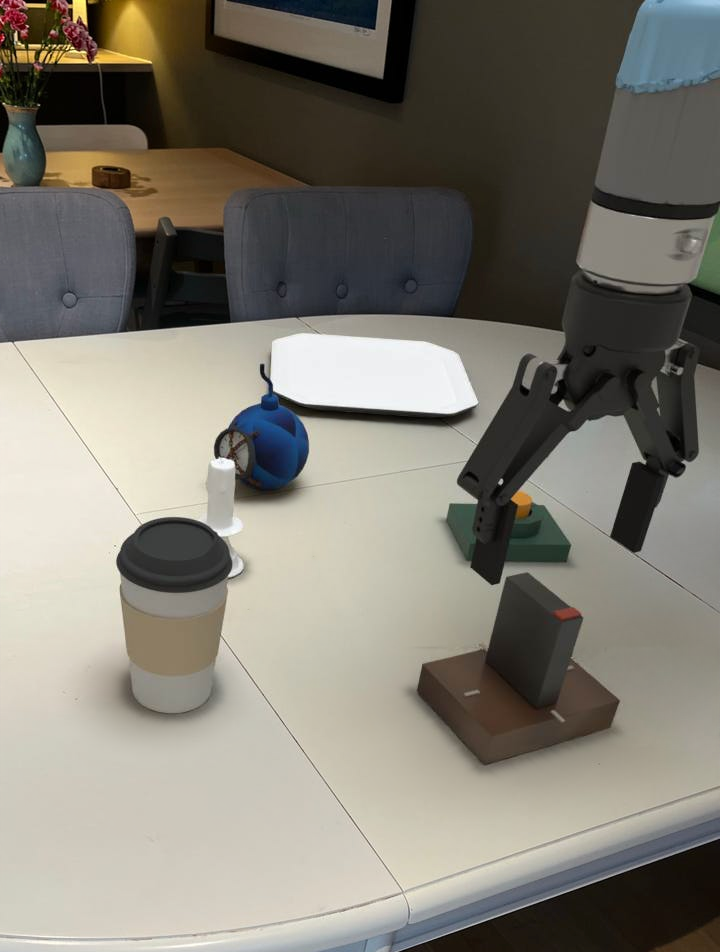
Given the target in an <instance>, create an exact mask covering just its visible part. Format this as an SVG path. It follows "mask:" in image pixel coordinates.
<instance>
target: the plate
mask: <svg viewBox="0 0 720 952" xmlns="http://www.w3.org/2000/svg"><path fill="white" fill-rule="evenodd" d="M270 349H271V350H270V351H271V352H270V372H269V373H270V374H269V375H270V376H269V379H270V380H271V381H272V384H273V395H276V396H277V397H280V398H283V399H285V400H287V401H289V402H292V403H294V404H296V405H298V406H301V407H305V408H309V409H311V410H312V409H313V410H316V411H317V410H318V411H325V412H328V411H329V412H342V413H353V414H355V413H356V414H371V415H383V416H397V417H411V418H412V417H413V418H426V419H427V418H440V417H443V418H444V417H453V416H456V415H459V414H462V413H464V412H467V411H470V410H472V409H475V408H477V406H478V405H479V401H478V398H477V396H476V393H475V391H474V389H473V386H472V383H471V380H470V379H469V376H468V374H467V372H466V369H465V367H464V363H463V362H462V360H461V357H460V355H459V353H457V352H455V351H454V350H451V349H448V348H445V347H443V346H440V345H437V344H435V343H431V342H429V341H424V340H423V341H421V340H409V339H408V340H407V339H396V338H395V339H394V338H381V337H379V338H378V337H365V336H353V335H352V336H351V335H337V334H322V333H307V332H300V333H295V334H290V335H287V336H282V337H280V338H276V339H274V340H273V341H271V348H270Z"/></svg>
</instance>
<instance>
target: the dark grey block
mask: <svg viewBox="0 0 720 952" xmlns="http://www.w3.org/2000/svg"><path fill="white" fill-rule="evenodd" d="M497 607H498V608H497V611H496V615H495V620H494V622H493V628H492V630H491V636H490V639H489V642H488V647H487V648H488V651H487V655H486V658H485V661H486V662H487V663H489V664H490V665H491V666H492V667H493V668H494V669H495V670H496V671H497V672H498V673H499V674H500V675H501V676H502V677H503V678H504V679H505V680H506V681H507V682H508V683H509V684H510V685H511V686H513V687H514V688H515V689H516V690H517V691H518V692H519V693H520V694H521V695H522V696H523V697H524V698H525V699H526V700H527V701H528V702H529V703H530V704H531V705H532V706H533V707H534V708H540V707H544V706H547V705H551V704H555V703H557V701H558V698H559V694H560V691H561V688H562V685H563V682H564V679H565V675H566V672H567V669H568V666H569V663H570V659H571V658H572V656H573V653H574V650H575V647H576V644H577V640H578V636H579V634H580V631H581V628H582V625H583V622H584V616H583V615H582V613H581V612H580V611H579V610H578V609H576V608H575V607H574V606H572V607H571V606H570V605H569V604H568V603H567V602H565V600H563V599H562V598H561V597H559V596H558V595H557V594H555V593H554V592H553V591H551V590H550V589H549V588H548V587H547V586H545V585H544V583H542V582H541V581H539V580H538V579H537V578H536V577H534V576H533V575H532V574H530V573H529V572H527V571H526V572H521V573H517V574H512V575H508V576H507V575H506V576H505V579H504V584H503V588H502V592H501V595H500V599H499V604H498V606H497Z"/></svg>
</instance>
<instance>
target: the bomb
mask: <svg viewBox="0 0 720 952" xmlns="http://www.w3.org/2000/svg"><path fill="white" fill-rule="evenodd" d="M259 375H260V377H261V379H262V380H263V381H265V382H266V383H267V385H268V393H265V394H263V395H262V396H261V398H260V402H259V403H256V404H254V405H250V406H248V407H246V408H244V409H242V410H241V411H239V413H238V414H236V415H235V416H234V418H233V419H232V421H230V423H229V425H228V427H226V428H225V429H224V430H222V431H220V432H219V434H218V435H217V437H216V438H215V441H214V445H213V455H214V459H219V457H220V458H225V459H228V460H233V461H234V463H235V481H236V480H237V481H240V482H241V483H242V484H244V485H245V486H247V487H250V488H252V489H255V490H262V491H273V490H276V489H279V488H283V487H286V486H287V485H289V484H290V483H292V482H293V481H294V480H295V479H296V478H298V476H299V475H300V474H301V473H302V471H303V470H304V469H305V466H306V464H307V461H308V458H309V454H310V440H309V434H308V432H307V429H306V426H305V425H304V423H303V421H302V420H301V419H300V418H299V416H298V415H297V414H296V413H295V412H293V411H292V410H291V409H289V408H287V407H286V406H283V405H280V398H279V396H278V395H276V394H274V393H273V384H272V381H271V380H270V377H268V376H267V375H266V373H265V363H260V364H259Z"/></svg>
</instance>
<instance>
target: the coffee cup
mask: <svg viewBox="0 0 720 952" xmlns="http://www.w3.org/2000/svg"><path fill="white" fill-rule="evenodd" d="M197 520H198V519H193V518H189V517H181V516H165V517H159V518H155V519H151V520H149V521H146V522H143V524H140V526H138V527H137V528H136V529H135V530H134V532H133V533H131V534H130V535H129V536H128V537H127V538H126V539H125V540H124V541H123V542H122V544H121V546H120V549H119V552H118V554H117V556H116V559H115V564H116V568H117V570H118V571H119V576H120V577H119V578H120V584H119V598H120V607H121V614H122V622H123V629H124V630H123V631H124V632H123V633H124V640H125V647H126V654H127V656H128V661H129V670H130V679H131V680H130V681H131V689H132V694H133V697H134V698H135V699H136V701H137V702H138V703H139V704H140V705H142V706H143V707H145V708H147V709H148V710H151V711H155V712H158V713H162V714H180V713H181V714H182V713H186V712H190V711H192V710H195V709H197V708H199V707H201V706H202V705H203V704H205V703H206V701H207V700H208V699H209V698H210V695H211V692H212V688H213V687H212V686H213V681H214V676H215V675H214V674H215V667H216V660H217V657H218V654H219V649H220V643H221V638H222V630H223V626H224V625H223V624H224V619H225V612H226V606H227V601H228V595H229V588H228V580H229V578H228V575H229V574H230V572H231V570H232V565H233V563H232V558H231V556H230V551H229V548H228V545H227V544H226V542H225V541H224V540H223V539H222V538H221V537H220V536H219V535H218V534H217V532H215V531H214V530H213V529H212V528H210V527H209V526H208V525H206V524H204V523H202V522H200V521H197Z"/></svg>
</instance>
